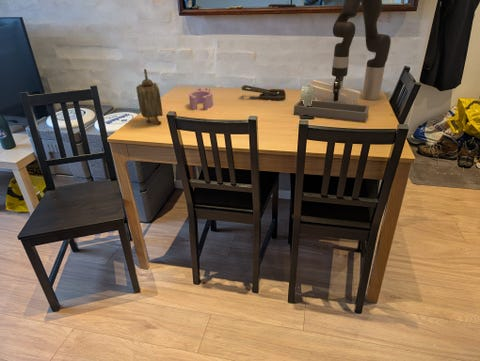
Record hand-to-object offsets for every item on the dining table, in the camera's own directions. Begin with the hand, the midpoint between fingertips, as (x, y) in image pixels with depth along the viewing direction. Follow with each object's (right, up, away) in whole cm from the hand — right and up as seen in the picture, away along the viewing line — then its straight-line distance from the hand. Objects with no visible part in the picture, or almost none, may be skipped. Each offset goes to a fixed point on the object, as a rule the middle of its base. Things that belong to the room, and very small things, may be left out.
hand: (336, 99), depth 181 cm
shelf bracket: (-2, -3, +2) cm, 4 cm away
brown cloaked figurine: (-93, -14, -11) cm, 95 cm away
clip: (-71, -1, +12) cm, 72 cm away
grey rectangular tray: (-5, -10, -8) cm, 14 cm away
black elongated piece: (-37, +5, +20) cm, 42 cm away
